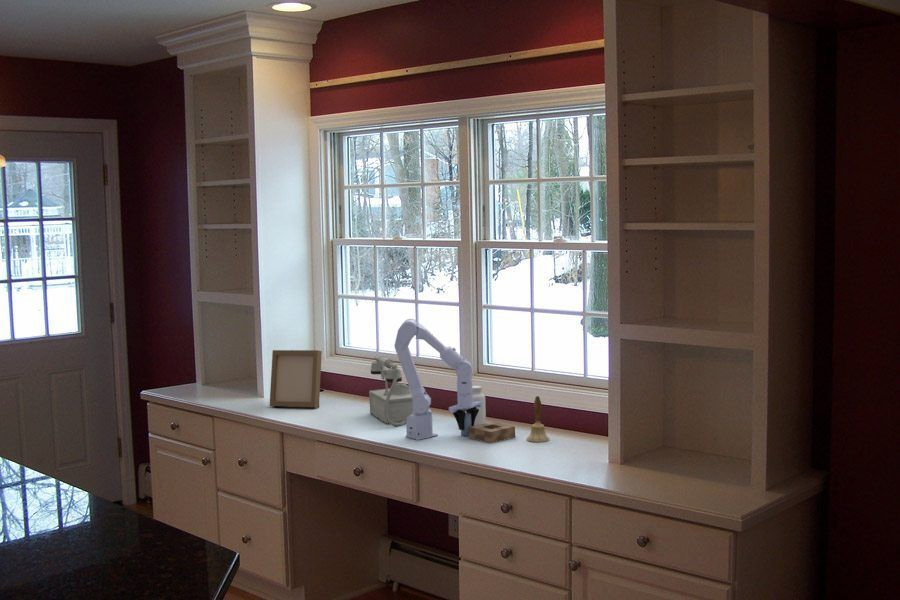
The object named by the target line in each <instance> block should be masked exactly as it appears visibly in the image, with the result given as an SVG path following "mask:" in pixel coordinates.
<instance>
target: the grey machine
mask: <svg viewBox="0 0 900 600" xmlns="http://www.w3.org/2000/svg"><path fill="white" fill-rule="evenodd" d="M373 357H374V360H375V361H371V366H370V374H371V375H380V378H381V379H382V381H383V380H384V382H385V383H384V385H385V388H383V389H381V388H380V389H374V390H373V389H372V390H368V395H369V396H368V397H369V398H368V399H369V413H372V414H373V415H372V414H371V415H372V416H374V415H375V416H376V417H375V416H374V417H375V418H377V417H378V418H379V419H378V418H377V419H378V420H380V419H381V420H382V421H381V420H380V421H381V422H383V421H384V422H383V423H385V424H386V423H387V424H386V425H391V426H393V427H400V426H399V425H401V426H403V424H404V425H405V424H406V419H407V417H408V416H409V415H411V414H412V413H413V407H412V404H413V400H412V397H411V391H410V388H409V385H408V384H406V383H400V382H402V380H403V376H402V372H401V369H400V368H398V365H396V364H394V361H393V360H391V359H390V358H386V357H384V355H383V356H382V355H381V356H373ZM388 383H389V384H390V383H392V384H391V386H390V388H389V387H388ZM399 422H400V423H399ZM388 423H389V424H388Z"/></svg>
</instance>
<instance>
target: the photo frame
mask: <svg viewBox="0 0 900 600" xmlns="http://www.w3.org/2000/svg"><path fill="white" fill-rule="evenodd" d="M322 352H323V351H321V350H316V349H314V350H313V349H312V350H311V349H309V350H307V349H305V350H303V349H301V350H299V349H298V350H297V349H290V350H288V349H286V350H285V349H283V350H282V349H279V350H278V349H277V350H276V349H272V354H271V355H272V356H271V357H272V358H271V374H270V376H271V377H270V388H269V389H270V390H269V407H275V406H287V407H289V408H319V407H320V395H321V394H320V393H321V374H322V372H321V371H322V355H323V353H322ZM318 406H319V407H318ZM287 407H286V408H287Z"/></svg>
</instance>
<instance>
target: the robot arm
mask: <svg viewBox="0 0 900 600" xmlns="http://www.w3.org/2000/svg"><path fill="white" fill-rule="evenodd" d="M415 336H416V337H415ZM395 337H396V338H395V341H394V349H395V352H396V354H397V357H398V360H399V364H400V365H401V368H402V371H403V375H404V377H405V379H406V382H407V386H409V388H410V391H411V397H412V400H413V404H412V407H413V413H412V414H411V415H409V416H408V417H407V419H406V423H405V424H406V425H405V426H406V435H405V438H409V439H413V440H424V439H428V438H431V437H437V436H438V433H434V432H433V413H432V412H433V411H432V409H430V406H431V404H432V398H431V395H429V394H428V393H427V392H426V388H424V386H423V384H422V380H421V378H420V375H419V373H418V372H419V371H418V370H417V367H416V365H415V362H414V359H413V357H412V353H411V351H410V348H409V345H410V343H411V341H412V339H416V340H421V341H422V340H423V341H425V342H426V343H427V344H428V345H429V346H431V347H432V349H434V350H435V351H436V352H438V354H439V359H440V360H442V361H443V362H444V363H445V364H447V365H448V366H449V367H450V368H451V369H452V370H455V374H456V375H457V380H456V392H457V399H456V400H457V404H455V405H452V406H449V407H448V413H450V414H452V415H453V416H454V419H455V420H456V423H457V426H458V429H459V430H460V431H461V430H464V419H465V414H466V413H471V425H472V426H474V422H475V418H476V416H477V414H478V412H479V409H477V408H476V407H482V402H480V401H477V402H473V390H472V386H473V380H472V378H473V377H472V371H473V366H472V364H471V361H470V360H468V359H466V357H464V356H462V355H461V354H459V353H458V351H456V350H457V349H456V347H452V346H445V345H444V344H443V343H442V341H440V340H439V339H438V338H437V337H436V336H435V335H434V334H433V333H431V331H430V330H429V329H427V328H426V327H425V326H424V325H423V324H422V323H419V322H418V321H417V320H416V319H414V318H408V319H406V320H404V321H403V323H401V325H400V327H398V329H397V334H396V336H395ZM414 337H415V338H414ZM465 410H466V413H465Z"/></svg>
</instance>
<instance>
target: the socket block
mask: <svg viewBox="0 0 900 600" xmlns="http://www.w3.org/2000/svg"><path fill="white" fill-rule="evenodd" d="M512 437H514V438H515V437H516V426H514V425H510V424H506V423H501V422H496V421H490V422H486V423H485V424H480V425H476V426H472V427H469V436H468V438H469V439H472V438H473V439H474V440H478V441H482V442H485V443H489V442H490V443H489V444H493V443H497V442H500V440H501V441H505V440H508V438H510V439H513V438H512ZM504 439H505V440H504ZM496 441H497V442H496ZM492 442H493V443H492Z"/></svg>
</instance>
